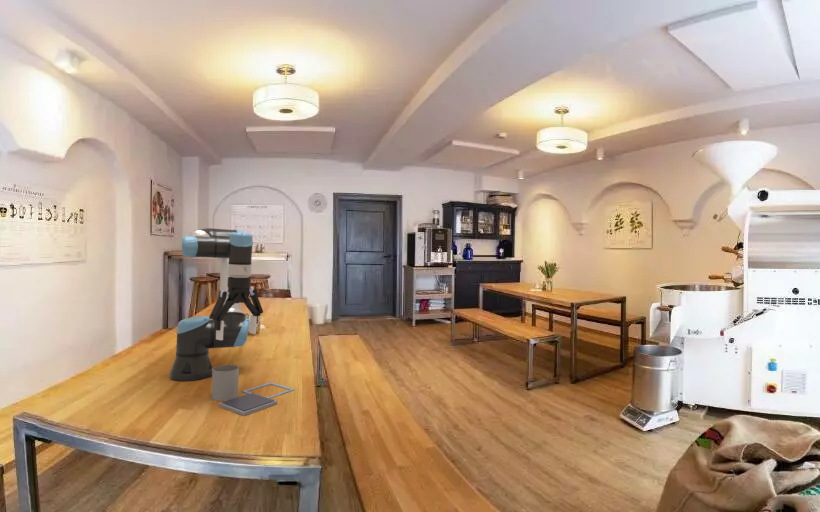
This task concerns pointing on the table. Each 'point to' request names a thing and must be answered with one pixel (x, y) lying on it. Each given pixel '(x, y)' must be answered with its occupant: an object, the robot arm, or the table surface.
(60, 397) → the table surface
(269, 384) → the marked square
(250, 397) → the pad
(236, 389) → the cup
